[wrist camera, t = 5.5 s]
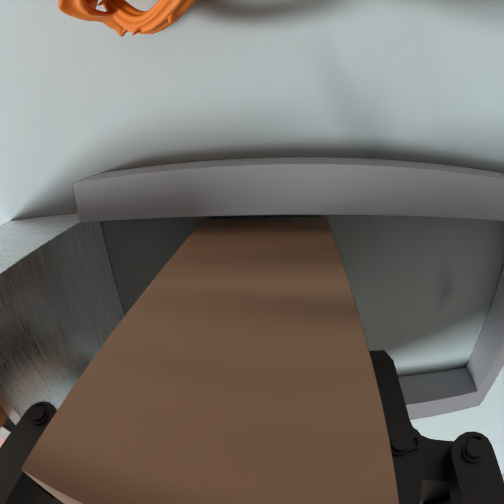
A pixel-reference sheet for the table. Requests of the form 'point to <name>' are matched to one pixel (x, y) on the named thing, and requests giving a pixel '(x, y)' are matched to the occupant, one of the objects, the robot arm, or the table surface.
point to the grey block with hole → (51, 308)
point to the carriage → (229, 383)
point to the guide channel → (324, 203)
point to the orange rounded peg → (2, 417)
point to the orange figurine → (128, 14)
